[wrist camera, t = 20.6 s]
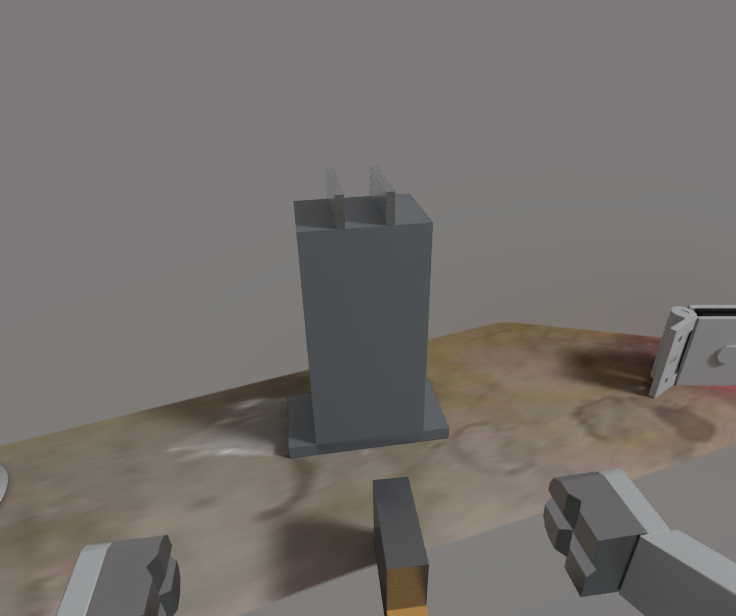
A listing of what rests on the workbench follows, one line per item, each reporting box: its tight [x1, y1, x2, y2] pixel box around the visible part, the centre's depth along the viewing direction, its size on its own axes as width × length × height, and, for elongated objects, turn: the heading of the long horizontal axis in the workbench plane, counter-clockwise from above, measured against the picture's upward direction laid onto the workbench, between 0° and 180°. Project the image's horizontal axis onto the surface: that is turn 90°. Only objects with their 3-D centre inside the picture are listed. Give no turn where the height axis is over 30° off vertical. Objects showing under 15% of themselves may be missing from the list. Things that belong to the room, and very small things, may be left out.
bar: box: [373, 477, 429, 616], centre depth 37 cm, size 3×18×8 cm, turn 7°
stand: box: [287, 166, 449, 458], centre depth 53 cm, size 18×9×29 cm, turn 99°
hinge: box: [648, 305, 736, 399], centre depth 64 cm, size 14×5×10 cm, turn 101°
